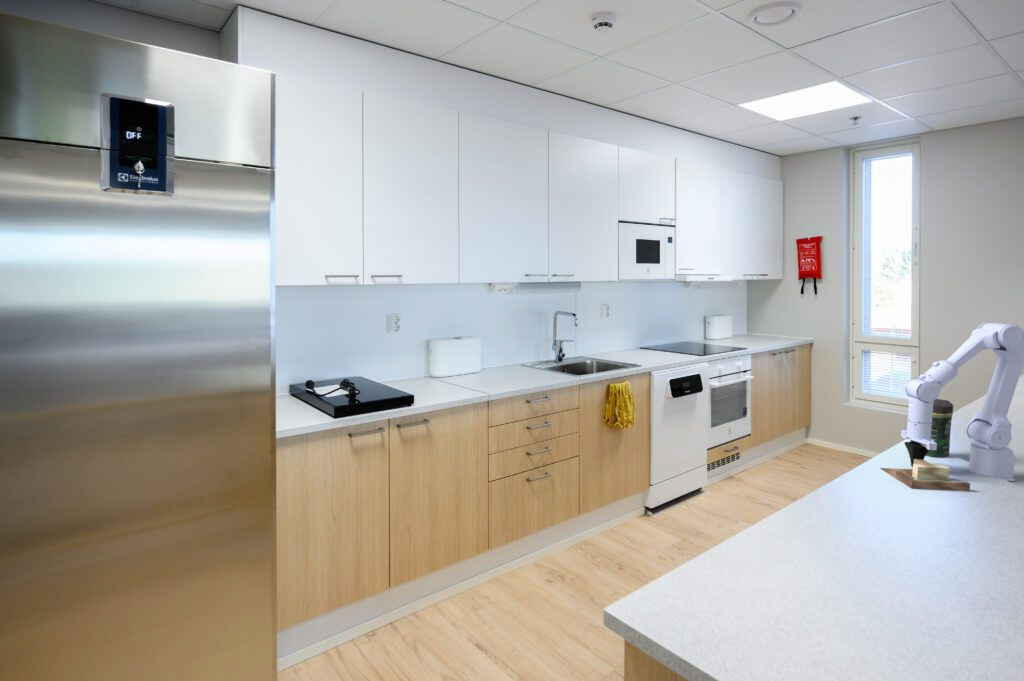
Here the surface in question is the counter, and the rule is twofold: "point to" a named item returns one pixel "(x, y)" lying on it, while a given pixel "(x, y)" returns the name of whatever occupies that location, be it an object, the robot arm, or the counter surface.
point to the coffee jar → (941, 428)
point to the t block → (929, 471)
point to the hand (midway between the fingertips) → (916, 467)
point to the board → (925, 481)
